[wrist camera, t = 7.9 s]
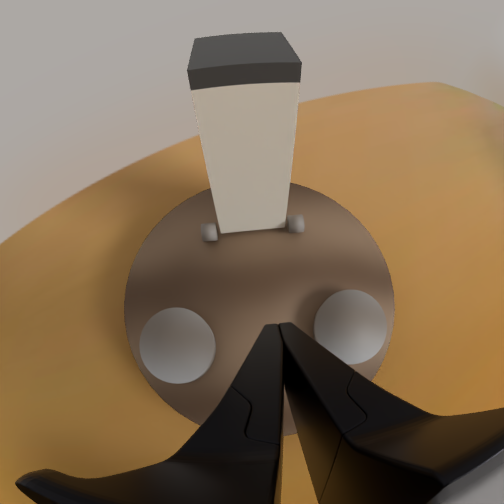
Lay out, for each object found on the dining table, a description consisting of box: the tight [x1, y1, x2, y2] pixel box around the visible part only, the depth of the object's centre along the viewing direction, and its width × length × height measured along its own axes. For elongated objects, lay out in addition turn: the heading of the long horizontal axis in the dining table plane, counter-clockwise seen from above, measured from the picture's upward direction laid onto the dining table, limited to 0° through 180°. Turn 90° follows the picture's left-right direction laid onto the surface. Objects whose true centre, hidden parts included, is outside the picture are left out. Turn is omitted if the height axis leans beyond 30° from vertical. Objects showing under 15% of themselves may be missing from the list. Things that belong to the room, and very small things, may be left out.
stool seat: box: [124, 183, 395, 436], centre depth 15 cm, size 15×15×4 cm
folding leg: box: [187, 32, 302, 233], centre depth 13 cm, size 4×4×10 cm
